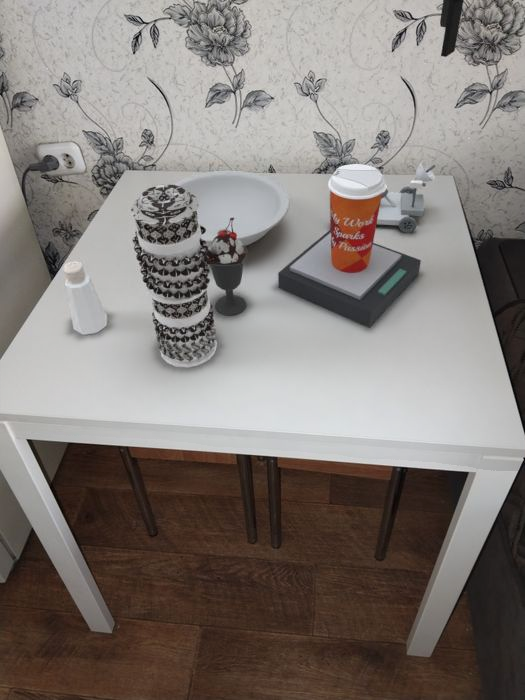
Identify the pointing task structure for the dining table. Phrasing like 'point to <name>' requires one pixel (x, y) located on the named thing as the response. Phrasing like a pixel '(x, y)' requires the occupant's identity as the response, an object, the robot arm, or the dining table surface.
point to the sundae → (227, 269)
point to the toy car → (405, 202)
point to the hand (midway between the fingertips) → (495, 63)
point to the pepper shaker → (83, 300)
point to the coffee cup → (354, 215)
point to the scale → (349, 281)
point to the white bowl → (236, 203)
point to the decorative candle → (175, 273)
